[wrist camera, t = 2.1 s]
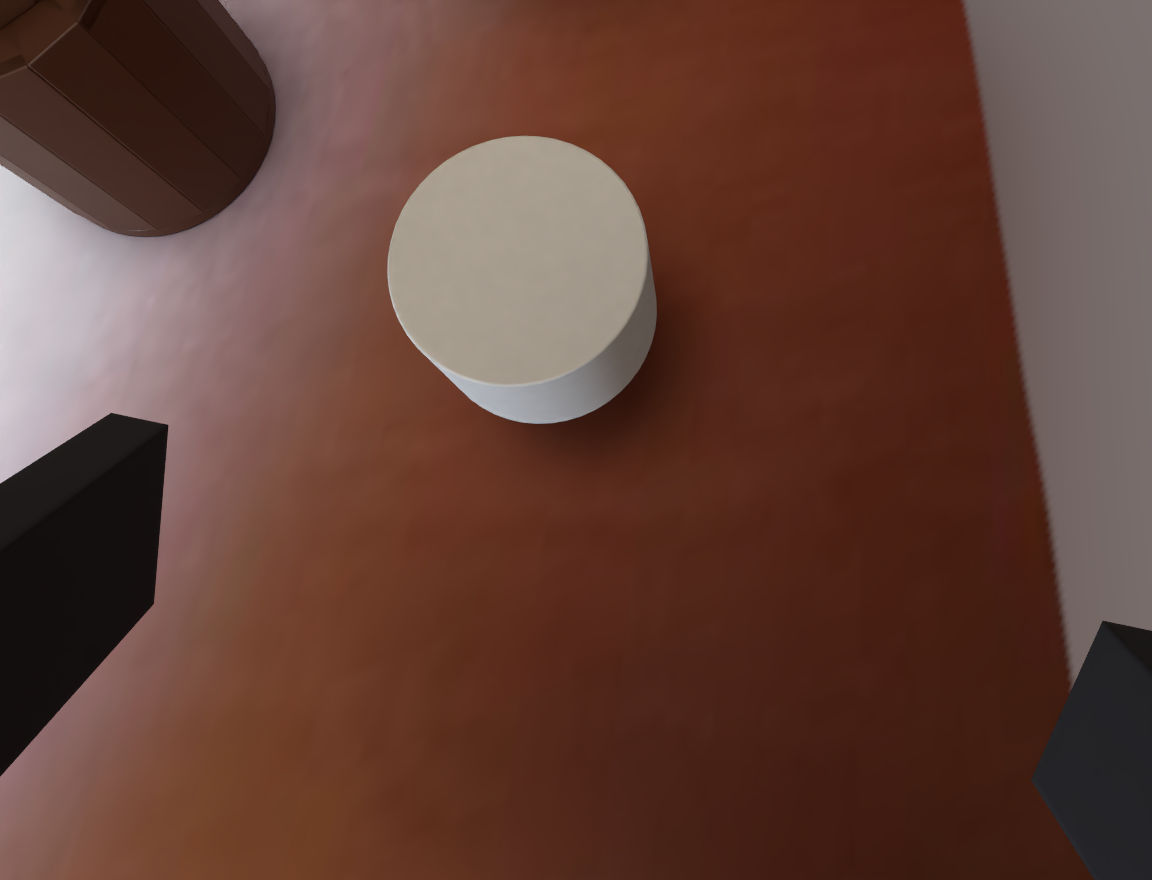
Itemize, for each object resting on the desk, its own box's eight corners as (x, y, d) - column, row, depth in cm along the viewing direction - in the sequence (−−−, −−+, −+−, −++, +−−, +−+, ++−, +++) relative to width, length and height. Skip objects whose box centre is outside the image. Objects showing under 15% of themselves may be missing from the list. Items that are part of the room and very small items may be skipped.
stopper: (695, 306, 33) (692, 189, 24) (612, 483, 32) (576, 429, 23) (522, 235, 34) (458, 99, 25) (437, 404, 33) (341, 324, 24)
